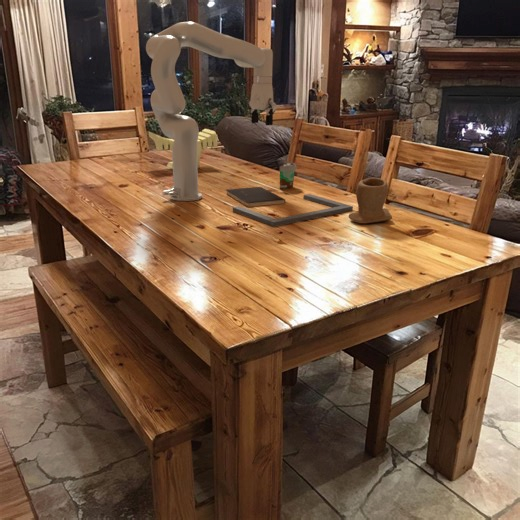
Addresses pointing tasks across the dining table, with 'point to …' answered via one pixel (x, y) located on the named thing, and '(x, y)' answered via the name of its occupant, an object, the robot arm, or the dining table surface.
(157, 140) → the slatted curved stool
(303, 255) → the dining table surface
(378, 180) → the stone cup
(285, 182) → the food container
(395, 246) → the dining table surface
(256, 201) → the hardcover book
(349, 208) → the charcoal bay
